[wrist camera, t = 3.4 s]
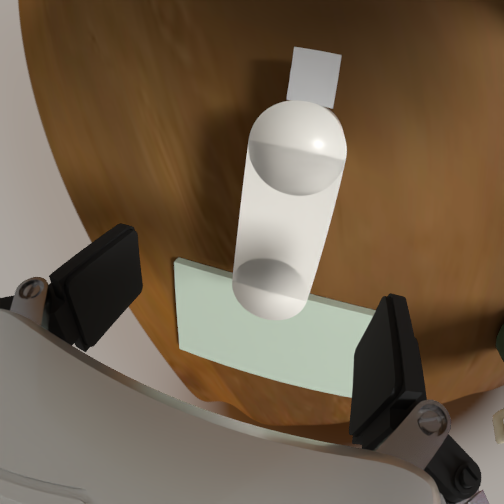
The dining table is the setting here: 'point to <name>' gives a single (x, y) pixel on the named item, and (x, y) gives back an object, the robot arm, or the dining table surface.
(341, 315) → the green board
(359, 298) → the dining table surface
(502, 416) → the character mug
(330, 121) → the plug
